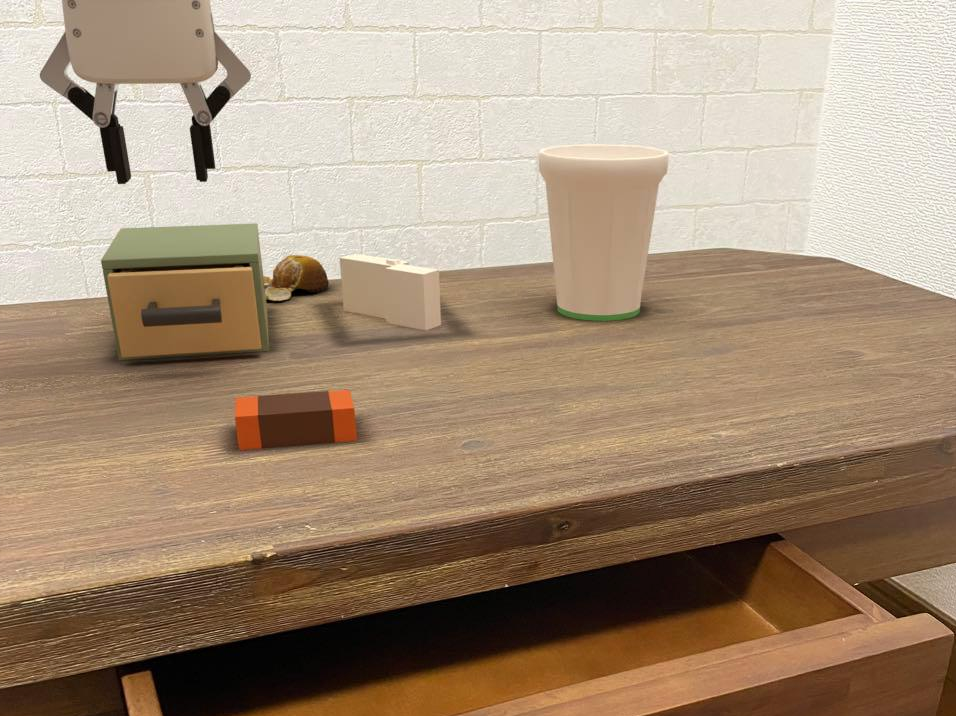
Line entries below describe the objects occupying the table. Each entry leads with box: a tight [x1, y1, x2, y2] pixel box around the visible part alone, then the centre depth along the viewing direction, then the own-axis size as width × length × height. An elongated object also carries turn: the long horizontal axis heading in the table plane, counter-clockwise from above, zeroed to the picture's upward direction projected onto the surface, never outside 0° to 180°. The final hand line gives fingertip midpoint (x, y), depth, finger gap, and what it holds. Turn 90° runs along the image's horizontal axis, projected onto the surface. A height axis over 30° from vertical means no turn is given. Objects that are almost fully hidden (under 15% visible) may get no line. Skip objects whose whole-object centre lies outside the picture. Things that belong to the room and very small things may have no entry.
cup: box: [538, 143, 670, 322], centre depth 102 cm, size 12×12×15 cm
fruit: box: [263, 254, 330, 302], centre depth 111 cm, size 8×8×4 cm
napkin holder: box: [339, 253, 442, 331], centre depth 101 cm, size 15×11×6 cm
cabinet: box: [100, 223, 270, 361], centre depth 95 cm, size 15×13×9 cm
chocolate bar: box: [234, 389, 358, 451], centre depth 73 cm, size 8×4×2 cm, turn 104°
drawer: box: [107, 263, 261, 357], centre depth 91 cm, size 18×11×7 cm, turn 14°
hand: (163, 178), depth 80 cm, fingers open, 5 cm apart
